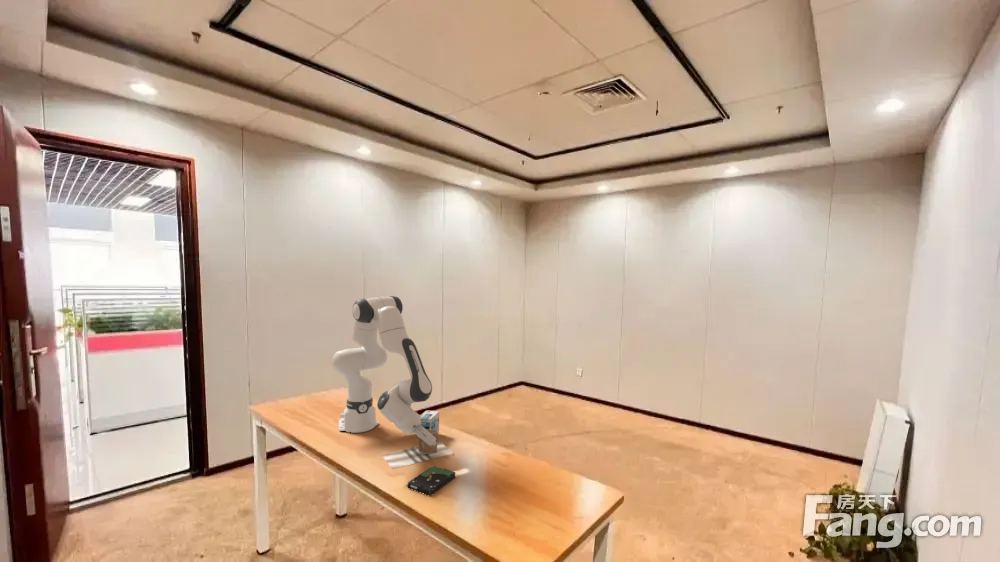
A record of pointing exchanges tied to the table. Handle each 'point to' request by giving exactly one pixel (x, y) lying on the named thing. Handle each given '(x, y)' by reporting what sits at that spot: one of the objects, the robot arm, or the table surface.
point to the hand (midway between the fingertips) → (431, 441)
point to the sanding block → (424, 447)
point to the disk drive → (431, 480)
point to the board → (414, 456)
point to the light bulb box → (430, 420)
